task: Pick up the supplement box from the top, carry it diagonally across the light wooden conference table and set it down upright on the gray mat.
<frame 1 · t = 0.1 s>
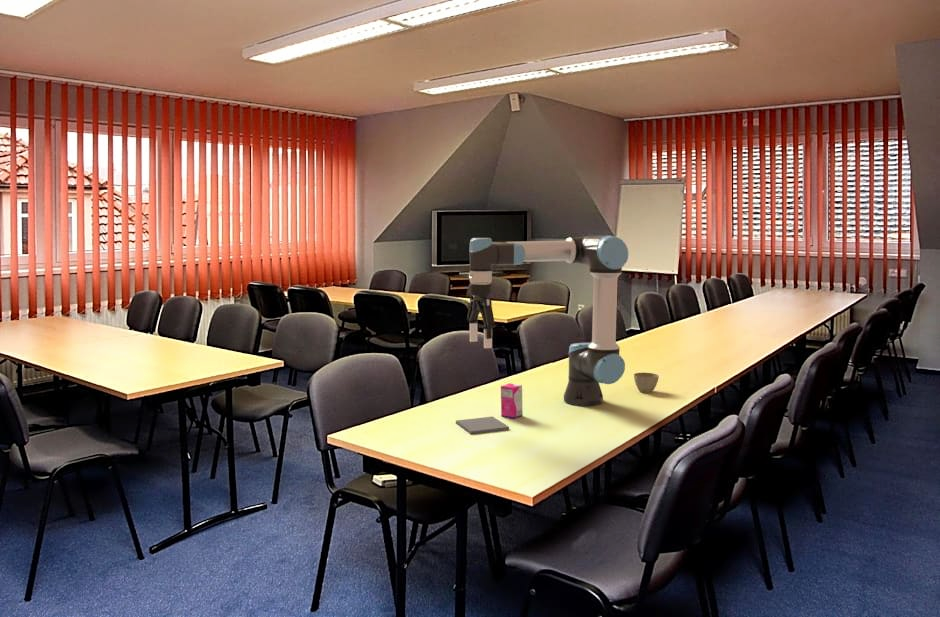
hand: (480, 344, 254), 28 cm above the table, tool pointing down, fingers open, 13 cm apart
flower pot: (645, 392, 303), on the table
supplement box: (511, 416, 266), on the table
gray mat: (482, 426, 253), on the table
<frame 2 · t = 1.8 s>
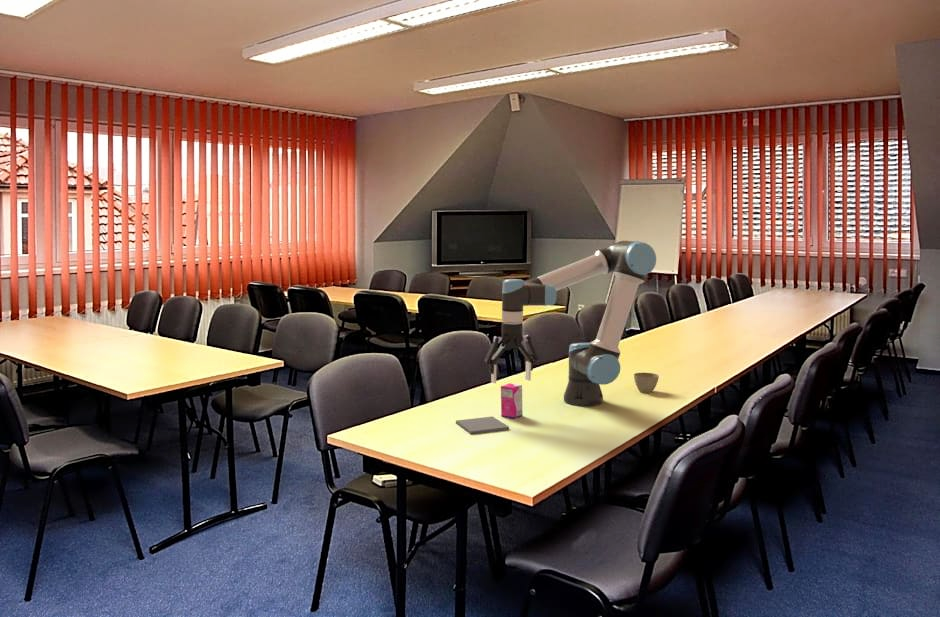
hand: (510, 381, 265), 13 cm above the table, tool pointing down, fingers open, 13 cm apart
nothing on the table moved.
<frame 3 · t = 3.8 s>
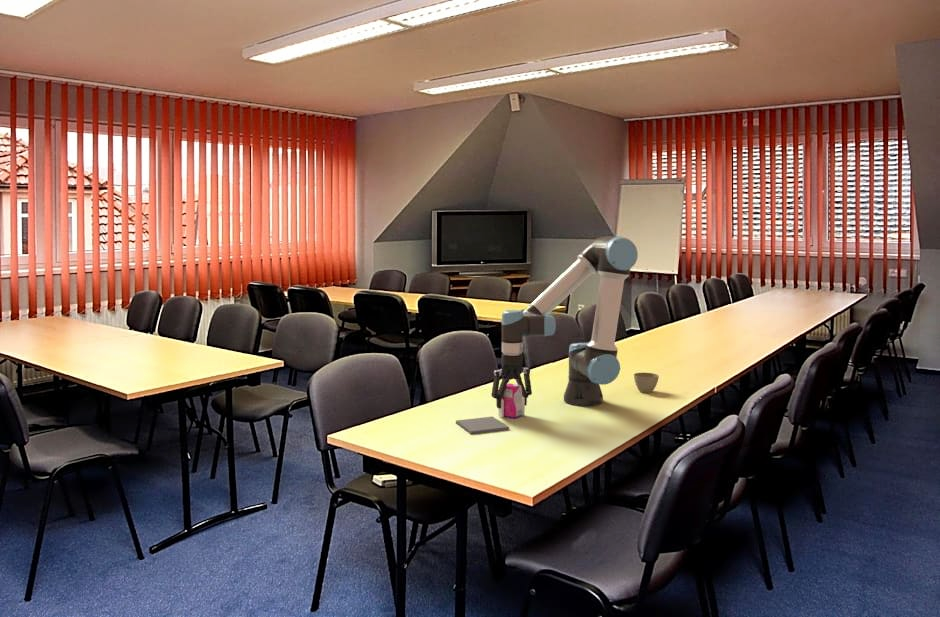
hand: (511, 415, 266), 0 cm above the table, tool pointing down, fingers closed on supplement box, 8 cm apart
supplement box: (511, 416, 266), on the table, touching gripper
everything else where it was.
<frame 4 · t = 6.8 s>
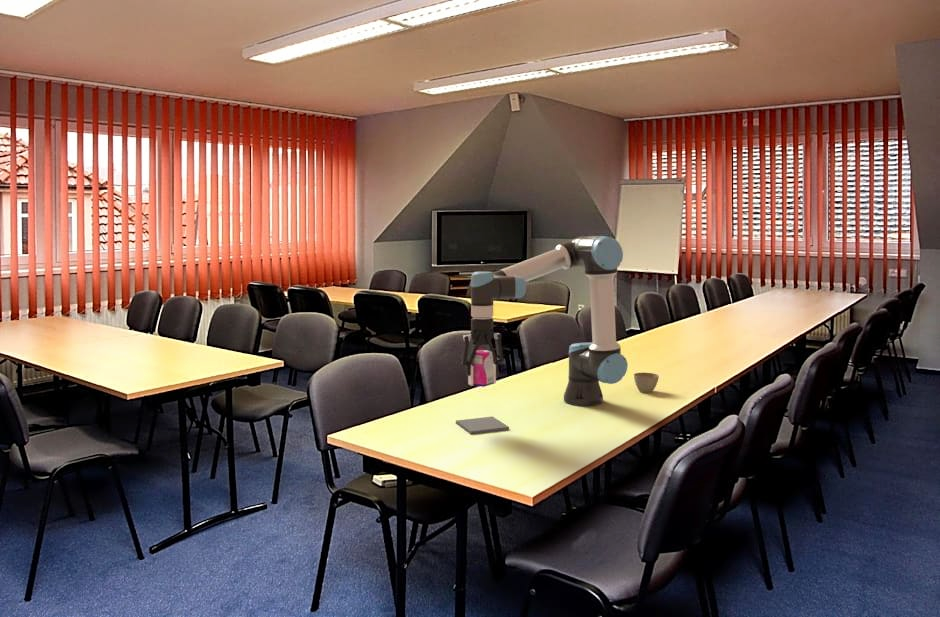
hand: (482, 383, 252), 15 cm above the table, tool pointing down, fingers closed on supplement box, 8 cm apart
supplement box: (481, 384, 252), point 15 cm above the table, touching gripper
everything else where it was.
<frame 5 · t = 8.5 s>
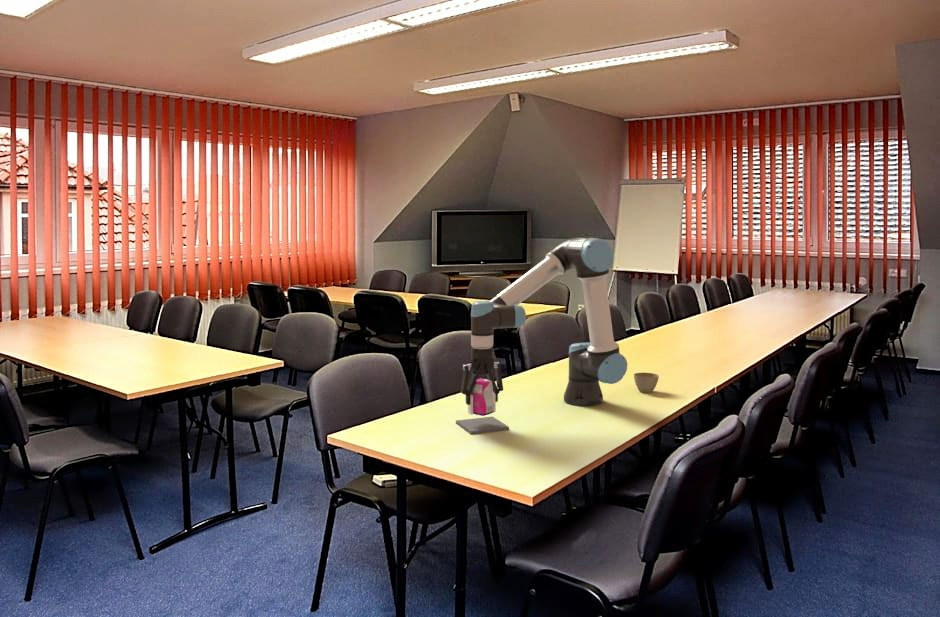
hand: (481, 412, 253), 5 cm above the table, tool pointing down, fingers closed on supplement box, 8 cm apart
supplement box: (481, 413, 253), point 5 cm above the table, touching gripper
everything else where it was.
when the fingers open (3 cm above the table, at t = 9.8 s): supplement box drops 1 cm, resting on gray mat.
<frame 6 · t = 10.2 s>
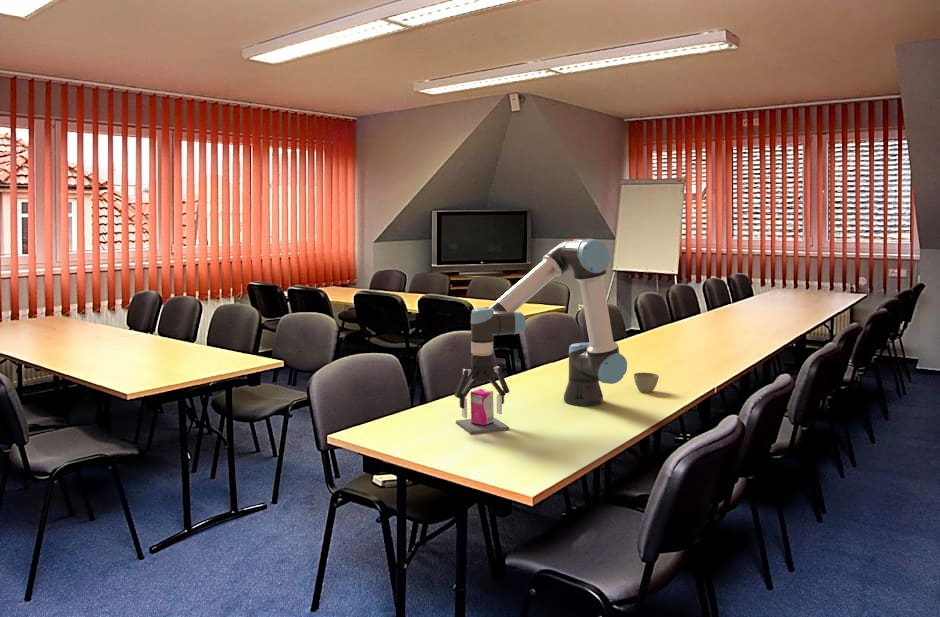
hand: (482, 415, 253), 4 cm above the table, tool pointing down, fingers open, 12 cm apart
supplement box: (482, 424, 253), point 1 cm above the table, touching gray mat
everything else where it was.
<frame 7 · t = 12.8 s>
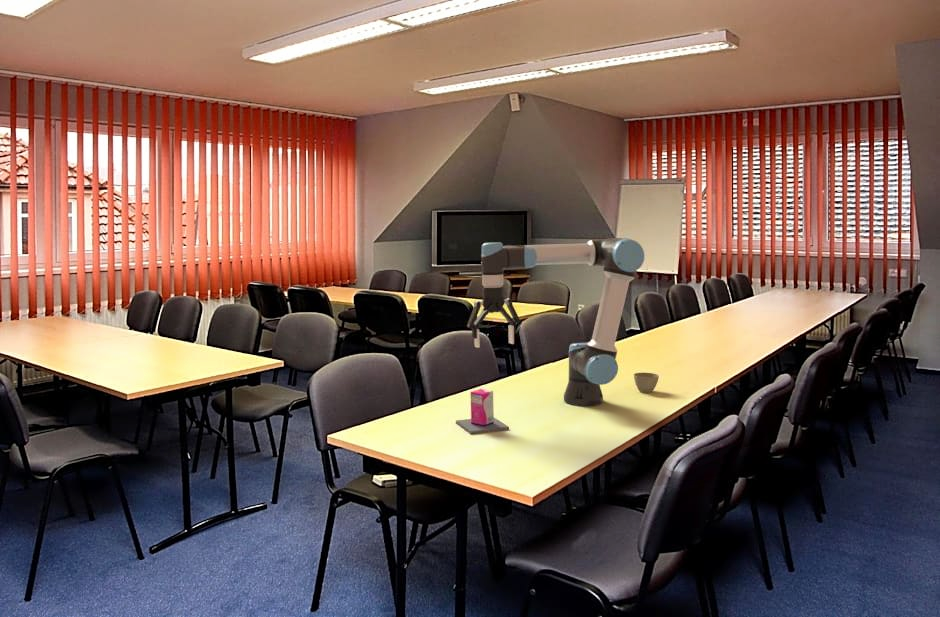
hand: (494, 345, 263), 26 cm above the table, tool pointing down, fingers open, 13 cm apart
nothing on the table moved.
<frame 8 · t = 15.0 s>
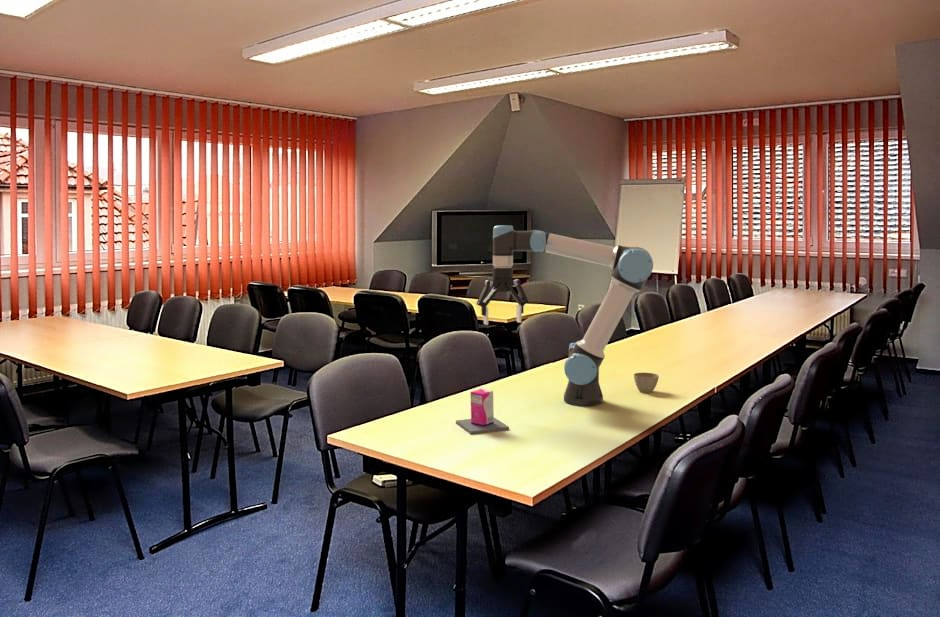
hand: (502, 323, 277), 32 cm above the table, tool pointing down, fingers open, 13 cm apart
nothing on the table moved.
at the end: supplement box inside the target area on the gray mat (0.1 cm from its centre), point 0.8 cm above the gray mat's base; supplement box tilted 0°; the gripper is holding nothing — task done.
